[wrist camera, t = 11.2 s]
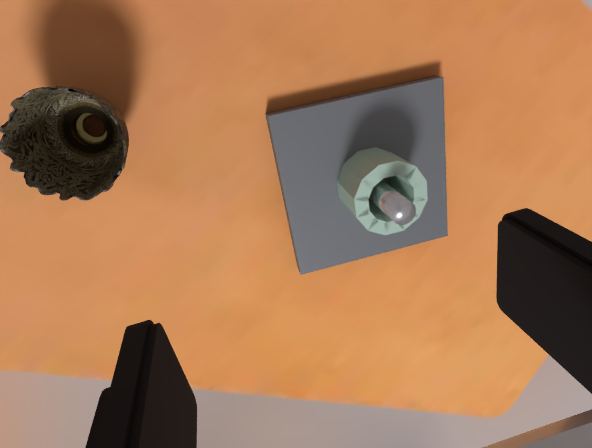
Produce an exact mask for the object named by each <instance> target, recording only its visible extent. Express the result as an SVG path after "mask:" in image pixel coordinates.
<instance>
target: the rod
mask: <svg viewBox="0 0 592 448" xmlns="http://www.w3.org/2000/svg"><path fill="white" fill-rule="evenodd" d="M369 199H370V200H371V201H372V202H373V203H374V204H375V205H376V206H378V207H379V208H380V209H381V210H382V211H383V212H384V213H385V214H386V215H387V216H388V217H389V218H390V219H392V220H393V221H394V222H395V223H396V224H398V225H405V224H408V223H409V222H411V221H412V220H413V218H414V217H415V214H416V207H415V205H414V204H413V203H412V202H411V201H409V200H408V199H407V198H405V197H404V196H403V195H401V194H400V193H399V192H397V191H396V190H395V189H393V188H392V187H391V186H389V185H388V184H387V183H385V182H384V181H383V180H381V181H380V182H379V183H378V184H376V185H375V186H374V187H373V189H372V192H371V194H370V196H369Z"/></svg>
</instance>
